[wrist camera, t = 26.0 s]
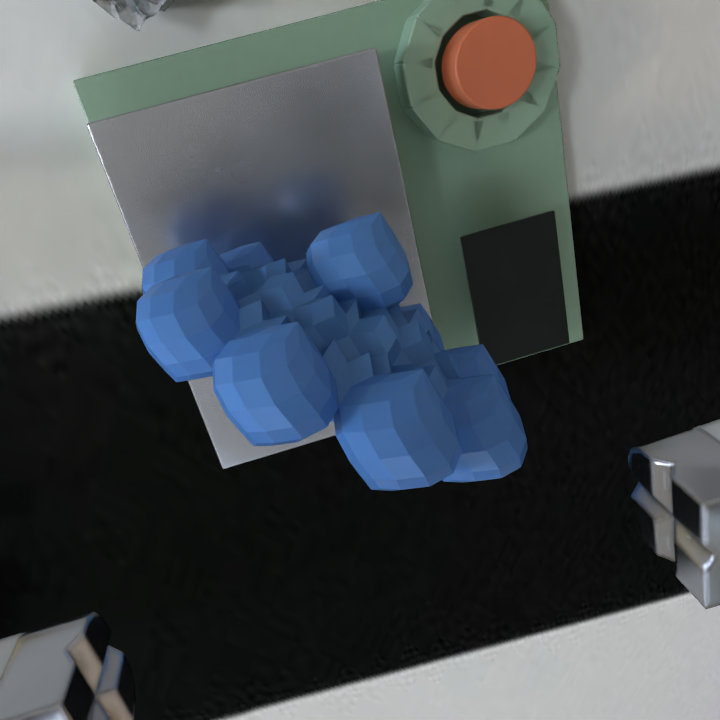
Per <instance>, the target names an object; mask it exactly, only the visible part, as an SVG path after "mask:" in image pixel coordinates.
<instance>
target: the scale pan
mask: <svg viewBox="0 0 720 720" xmlns="http://www.w3.org/2000/svg"><path fill="white" fill-rule="evenodd" d="M87 128H88V130H89V133H90V135H91V138H92V140H93V143H94V145H95V148H96V150H97V153H98V155H99V158H100V160H101V163H102V166H103V168H104V171H105V173H106V176H107V178H108V181H109V183H110V186H111V188H112V191H113V193H114V196H115V198H116V201H117V203H118V206H119V209H120V211H121V214H122V216H123V219H124V221H125V224H126V226H127V229H128V231H129V234H130V236H131V239H132V241H133V244H134V246H135V249H136V251H137V254H138V257H139V259H140V262H141V264H142V267H143V268H144V267H145V266H146V265H147V264H148V263H149V262H150V261H151V260H152V259H153V258H154V257H155V256H157V255H159V254H161V253H164V252H166V251H169V250H171V249H174V248H176V247H179V246H181V245H184V244H186V243H191V242H195V241H199V240H203V239H207V240H208V241H209V242H210V244H211V245H212V246H213V248H214V249H215V250H216V251H217V253H218V254H219V255H220V254H222V253H225V252H227V251H230V250H232V249H235V248H238V247H240V246H244V245H248V244H252V243H256V242H261V244H262V245H263V246H264V248H265V249H266V250H267V252H268V253H269V254H270V256H271V257H272V259H273V261H277V260H280V259H283V258H285V260H286V261H287V263H289V262H294V261H298V260H303V259H307V257H306V252H307V250H308V249H309V247H310V245H311V243H312V242H313V241H314V239H315V238H316V237H317V235H318V234H319V233H320V231H322V230H325V229H327V228H330V227H332V226H335V225H337V224H339V223H342V222H345V221H348V220H351V219H354V218H356V217H360V216H365V215H369V214H373V213H377V212H381V214H382V216H383V217H384V219H385V220H386V222H387V223H388V225H389V226H390V228H391V229H392V231H393V232H394V234H395V236H396V237H397V239H398V241H399V242H400V244H401V246H402V247H403V249H404V251H405V253H406V257H407V260H408V263H409V267H410V271H411V276H412V280H413V285H412V287H411V289H410V290H409V292H408V294H407V296H406V297H405V299H404V300H403V301H402V302H400V303H399V305H400V307H403V306H408V305H413V304H418V303H421V305H422V306H423V308H424V309H425V311H426V312H427V314H428V315H429V317H430V318H431V320H432V322H433V319H432V314H431V309H430V304H429V299H428V295H427V290H426V285H425V280H424V275H423V270H422V266H421V261H420V256H419V251H418V246H417V242H416V237H415V232H414V227H413V222H412V218H411V213H410V208H409V203H408V198H407V194H406V189H405V184H404V179H403V174H402V170H401V165H400V160H399V155H398V150H397V145H396V141H395V136H394V131H393V126H392V121H391V117H390V112H389V107H388V102H387V97H386V93H385V88H384V83H383V78H382V73H381V69H380V64H379V59H378V54H377V49H376V48H374V47H373V48H369V49H366V50H362V51H358V52H354V53H350V54H347V55H343V56H339V57H335V58H332V59H328V60H324V61H320V62H316V63H313V64H309V65H305V66H301V67H298V68H294V69H290V70H286V71H283V72H279V73H275V74H271V75H267V76H264V77H260V78H256V79H252V80H249V81H245V82H241V83H237V84H233V85H230V86H226V87H222V88H218V89H215V90H211V91H207V92H203V93H199V94H196V95H192V96H188V97H184V98H181V99H177V100H173V101H169V102H166V103H162V104H158V105H154V106H150V107H147V108H143V109H139V110H135V111H132V112H128V113H124V114H120V115H116V116H113V117H109V118H105V119H101V120H98V121H94V122H90V123H88V124H87ZM460 240H461V246H462V251H463V257H464V262H465V268H466V274H467V279H468V285H469V290H470V296H471V302H472V307H473V313H474V318H475V324H476V330H477V335H478V341H479V345H480V344H483V345H484V347H485V348H486V350H487V351H488V353H489V354H490V356H491V358H492V359H493V361H494V362H495V364H496V365H498V364H501V363H505V362H508V361H511V360H515V359H518V358H521V357H525V356H528V355H531V354H535V353H538V352H541V351H545V350H548V349H551V348H555V347H558V346H561V345H565V344H568V343H570V341H569V332H568V323H567V315H566V306H565V297H564V288H563V280H562V271H561V262H560V254H559V245H558V236H557V227H556V219H555V211H553V210H552V211H548V212H545V213H541V214H538V215H534V216H531V217H527V218H524V219H520V220H517V221H513V222H510V223H506V224H503V225H499V226H496V227H492V228H489V229H485V230H482V231H478V232H475V233H471V234H468V235H464V236H461V237H460ZM188 383H189V386H190V388H191V391H192V393H193V396H194V398H195V401H196V403H197V406H198V408H199V411H200V413H201V416H202V418H203V421H204V423H205V426H206V429H207V431H208V434H209V436H210V439H211V441H212V444H213V446H214V449H215V451H216V454H217V456H218V459H219V461H220V464H221V466H222V468H223V469H226V468H229V467H232V466H235V465H239V464H242V463H245V462H249V461H252V460H255V459H259V458H262V457H265V456H269V455H272V454H275V453H278V452H282V451H285V450H288V449H292V448H295V447H298V446H302V445H305V444H308V443H312V442H315V441H318V440H321V439H325V438H328V437H331V436H335V435H336V433H335V425H334V422H330V423H329V425H328V427H326V428H324V429H323V430H321V431H319V432H317V433H315V434H313V435H311V436H309V437H307V438H305V439H303V440H301V441H299V442H295V443H288V444H281V445H274V446H253V445H252V444H251V443H250V442H249V441H248V440H247V439H246V438H245V437H244V435H243V434H242V433H241V432H240V431H239V430H238V429H237V427H236V426H235V425H234V424H233V423H232V422H231V420H230V419H229V418H228V417H227V416H226V414H225V412H224V410H223V408H222V406H221V404H220V402H219V400H218V398H217V396H216V395H215V393H214V391H213V376H211V377H205V378H199V379H194V380H188Z"/></svg>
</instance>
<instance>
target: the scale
mask: <svg viewBox="0 0 720 720" xmlns="http://www.w3.org/2000/svg"><path fill="white" fill-rule="evenodd" d="M498 15H501V16H507V17H511V18H513V19H515V20H517V21H518V22H520V23H521V24H522V25H523V26H524V27H525V28H526V29H527V30H528V32H529V33H530V35H531V37H532V39H533V42H534V45H535V49H536V58H537V60H536V69H535V73H534V77H533V79H532V82H531V84H530V86H529V88H528V89H527V90H526V92H525V93H524V94H523V95H522V97H521V98H519V99H518V100H517V101H516V102H514V103H513V104H511V105H509V106H507V107H505V108H502V109H496V110H488V109H474V108H469V107H466V106H463V105H461V104H460V103H458V102H457V101H456V100H454V98H453V97H452V96H451V95H450V94H449V92H448V91H447V89H446V87H445V84H444V81H443V77H442V58H443V54H444V51H445V48H446V46H447V44H448V42H449V40H450V39H451V37H452V36H453V35H454V34H455V32H457V31H458V30H459V29H460V28H461V27H463V26H464V25H466V24H468V23H471V22H474V21H477V20H480V19H483V18H486V17H490V16H498ZM373 47H374V48H376V49H377V54H378V59H379V64H380V69H381V73H382V78H383V83H384V88H385V93H386V97H387V102H388V107H389V112H390V117H391V121H392V126H393V131H394V136H395V141H396V145H397V150H398V155H399V160H400V165H401V170H402V174H403V179H404V184H405V189H406V194H407V198H408V203H409V208H410V213H411V218H412V222H413V227H414V232H415V237H416V242H417V246H418V251H419V256H420V261H421V266H422V270H423V275H424V280H425V285H426V290H427V295H428V299H429V304H430V309H431V314H432V319H433V323H434V325H435V327H436V328H437V330H438V332H439V333H440V335H441V339H442V342H443V346H444V350H448V349H454V348H459V347H466V346H473V345H479V341H478V335H477V330H476V324H475V318H474V313H473V307H472V302H471V296H470V290H469V285H468V279H467V274H466V268H465V262H464V257H463V251H462V246H461V240H460V237H461V236H464V235H468V234H471V233H475V232H478V231H482V230H485V229H489V228H492V227H496V226H499V225H503V224H506V223H510V222H513V221H517V220H520V219H524V218H527V217H531V216H534V215H538V214H541V213H545V212H548V211H552V210H553V211H555V219H556V227H557V236H558V245H559V254H560V262H561V271H562V280H563V288H564V297H565V306H566V315H567V323H568V332H569V341H570V343H573V342H576V341H579V340H582V339H583V331H582V322H581V312H580V302H579V293H578V283H577V274H576V264H575V255H574V245H573V236H572V226H571V216H570V207H569V197H568V188H567V178H566V169H565V159H564V149H563V140H562V130H561V121H560V111H559V102H558V92H557V82H556V78H557V75H558V72H559V69H560V68H559V67H560V62H559V52H558V42H557V32H556V23H555V22H554V19H553V18H552V16H551V15H550V14H549V6H548V0H380V1H377V2H373V3H369V4H365V5H361V6H357V7H354V8H350V9H346V10H342V11H338V12H334V13H331V14H327V15H323V16H319V17H315V18H311V19H307V20H304V21H300V22H296V23H292V24H288V25H284V26H281V27H277V28H273V29H269V30H265V31H261V32H258V33H254V34H250V35H246V36H242V37H238V38H235V39H231V40H227V41H223V42H219V43H215V44H212V45H208V46H204V47H200V48H196V49H192V50H188V51H185V52H181V53H177V54H173V55H169V56H165V57H162V58H158V59H154V60H150V61H146V62H142V63H139V64H135V65H131V66H127V67H123V68H119V69H116V70H112V71H108V72H104V73H100V74H96V75H93V76H89V77H85V78H81V79H77V80H74V81H73V84H74V87H75V89H76V92H77V95H78V97H79V100H80V102H81V105H82V107H83V110H84V112H85V115H86V117H87V120H88V122H89V123H90V122H94V121H98V120H101V119H105V118H109V117H113V116H116V115H120V114H124V113H128V112H132V111H135V110H139V109H143V108H147V107H150V106H154V105H158V104H162V103H166V102H169V101H173V100H177V99H181V98H184V97H188V96H192V95H196V94H199V93H203V92H207V91H211V90H215V89H218V88H222V87H226V86H230V85H233V84H237V83H241V82H245V81H249V80H252V79H256V78H260V77H264V76H267V75H271V74H275V73H279V72H283V71H286V70H290V69H294V68H298V67H301V66H305V65H309V64H313V63H316V62H320V61H324V60H328V59H332V58H335V57H339V56H343V55H347V54H350V53H354V52H358V51H362V50H366V49H369V48H373ZM568 344H569V343H568ZM565 345H566V344H565ZM561 346H563V345H561ZM558 347H559V346H558ZM555 348H556V347H555ZM551 349H553V348H551ZM548 350H549V349H548ZM545 351H546V350H545ZM541 352H543V351H541ZM538 353H539V352H538ZM535 354H536V353H535ZM531 355H533V354H531ZM528 356H529V355H528ZM525 357H526V356H525ZM521 358H523V357H521ZM518 359H519V358H518ZM515 360H516V359H515ZM511 361H513V360H511ZM508 362H509V361H508ZM505 363H506V362H505ZM501 364H503V363H501ZM498 365H499V364H498Z"/></svg>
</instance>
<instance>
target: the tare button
mask: <svg viewBox="0 0 720 720" xmlns="http://www.w3.org/2000/svg"><path fill="white" fill-rule="evenodd" d="M536 60H537V58H536V49H535V45H534V42H533V39H532V37H531V35H530V33H529V32H528V30H527V29H526V28H525V27H524V26H523V25H522V24H521V23H520V22H518V21H517V20H515V19H513V18H511V17H507V16H501V15H498V16H490V17H486V18H483V19H480V20H477V21H474V22H471V23H468V24H466V25H464V26H463V27H461V28H460V29H459V30H458V31H457V32H455V34H454V35H453V36H452V37H451V39H450V40H449V42H448V44H447V46H446V48H445V51H444V54H443V58H442V77H443V81H444V84H445V87H446V89H447V91H448V92H449V94H450V95H451V96H452V97H453V98H454V100H456V101H457V102H458V103H460V104H461V105H463V106H466V107H469V108H474V109H488V110H496V109H502V108H505V107H507V106H509V105H511V104H513V103H514V102H516V101H517V100H518V99H519V98H521V97H522V95H523V94H524V93H525V92H526V90H527V89H528V88H529V86H530V84H531V82H532V79H533V77H534V73H535V69H536Z"/></svg>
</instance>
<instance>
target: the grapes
mask: <svg viewBox="0 0 720 720" xmlns="http://www.w3.org/2000/svg"><path fill="white" fill-rule="evenodd" d="M306 257H307V259H303V260H298V261H294V262H289V263H287V261H286V260H285V258H283V259H280V260H277V261H273V259H272V257H271V256H270V254H269V253H268V252H267V250H266V249H265V248H264V246H263V245H262V244H261V242H256V243H252V244H248V245H244V246H240V247H238V248H235V249H232V250H230V251H227V252H225V253H222V254H220V255H219V254H218V253H217V251H216V250H215V249H214V248H213V246H212V245H211V244H210V242H209V241H208V240H207V239H203V240H199V241H195V242H191V243H186V244H184V245H181V246H179V247H176V248H174V249H171V250H169V251H166V252H164V253H161V254H159V255H157V256H155V257H154V258H153V259H152V260H151V261H150V262H149V263H148V264H147V265H146V266H145V267H144V268H143V279H142V290H143V296H142V297H141V298H140V299H139V300H138V301H137V313H136V326H137V330H138V332H139V334H140V336H141V338H142V340H143V342H144V344H145V346H146V348H147V350H148V352H149V353H150V354H151V356H152V357H153V358H154V359H155V360H156V361H157V362H158V364H159V365H160V366H161V367H162V368H163V369H164V370H165V371H166V372H167V373H168V374H169V375H170V376H171V377H172V378H173V379H174V380H175V381H176V382H181V381H188V380H194V379H199V378H205V377H211V376H213V391H214V393H215V395H216V396H217V398H218V400H219V402H220V404H221V406H222V408H223V410H224V412H225V414H226V416H227V417H228V418H229V419H230V420H231V422H232V423H233V424H234V425H235V426H236V427H237V429H238V430H239V431H240V432H241V433H242V434H243V435H244V437H245V438H246V439H247V440H248V441H249V442H250V443H251V444H252V445H253V446H274V445H281V444H288V443H295V442H299V441H301V440H303V439H305V438H307V437H309V436H311V435H313V434H315V433H317V432H319V431H321V430H323V429H324V428H326V427H328V425H329V423H330V422H334V425H335V433H336V437H337V439H338V441H339V443H340V444H341V446H342V448H343V450H344V452H345V454H346V456H347V457H348V459H349V461H350V463H351V464H352V465H353V467H354V468H355V470H356V471H357V472H358V473H359V475H360V476H361V477H362V478H363V480H364V481H365V482H366V483H367V485H368V486H369V487H370V488H371V490H389V491H394V490H402V489H411V488H419V487H428V486H431V485H433V484H435V483H437V482H439V481H440V480H443V481H444V482H472V481H481V480H489V479H498V478H502V477H504V476H506V475H508V474H509V473H511V472H513V471H515V470H517V469H518V468H520V467H521V466H522V463H523V460H524V457H525V454H526V451H527V439H526V435H525V432H524V428H523V425H522V421H521V418H520V415H519V413H518V411H517V410H516V408H515V407H514V405H513V403H512V402H511V399H510V396H509V392H508V389H507V385H506V382H505V379H504V377H503V376H502V374H501V372H500V371H499V369H498V367H497V366H496V364H495V362H494V361H493V359H492V358H491V356H490V354H489V353H488V351H487V350H486V348H485V347H484V345H483V344H480V345H473V346H466V347H459V348H454V349H448V350H444V346H443V342H442V339H441V335H440V333H439V332H438V330H437V328H436V327H435V325H434V323H433V322H432V320H431V318H430V317H429V315H428V314H427V312H426V311H425V309H424V308H423V306H422V305H421V303H418V304H413V305H408V306H403V307H400V305H399V303H400V302H402V301H403V300H404V299H405V297H406V296H407V294H408V292H409V290H410V289H411V287H412V285H413V280H412V276H411V271H410V267H409V263H408V260H407V257H406V253H405V251H404V249H403V247H402V246H401V244H400V242H399V241H398V239H397V237H396V236H395V234H394V232H393V231H392V229H391V228H390V226H389V225H388V223H387V222H386V220H385V219H384V217H383V216H382V214H381V212H377V213H373V214H369V215H365V216H360V217H356V218H354V219H351V220H348V221H345V222H342V223H339V224H337V225H335V226H332V227H330V228H327V229H325V230H322V231H320V233H319V234H318V235H317V237H316V238H315V239H314V241H313V242H312V243H311V245H310V247H309V249H308V250H307V252H306Z"/></svg>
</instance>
